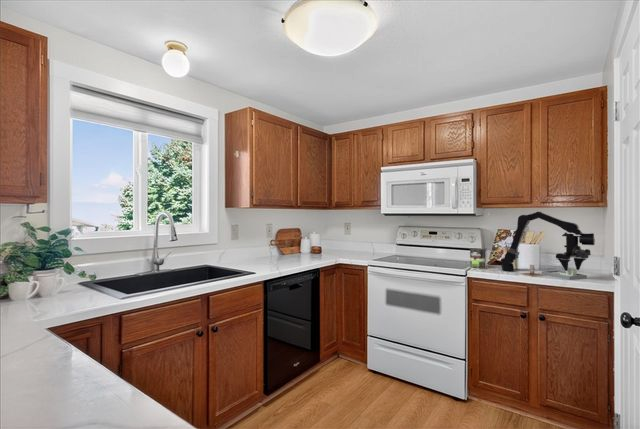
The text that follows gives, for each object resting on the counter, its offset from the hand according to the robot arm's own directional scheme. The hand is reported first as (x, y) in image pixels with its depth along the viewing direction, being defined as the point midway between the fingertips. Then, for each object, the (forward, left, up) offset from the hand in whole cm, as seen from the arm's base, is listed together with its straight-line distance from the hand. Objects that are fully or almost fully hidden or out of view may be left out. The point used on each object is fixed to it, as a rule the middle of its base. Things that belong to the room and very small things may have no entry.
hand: (572, 270), depth 195 cm
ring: (-5, 0, -5) cm, 7 cm away
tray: (-5, 0, -6) cm, 8 cm away
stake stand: (-15, -13, -6) cm, 21 cm away
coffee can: (-48, -25, -6) cm, 55 cm away
